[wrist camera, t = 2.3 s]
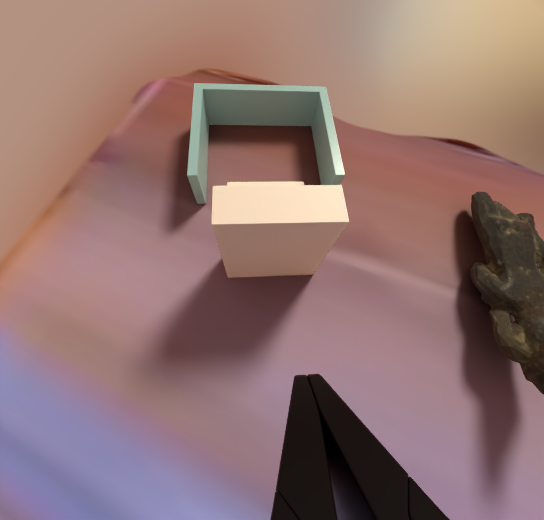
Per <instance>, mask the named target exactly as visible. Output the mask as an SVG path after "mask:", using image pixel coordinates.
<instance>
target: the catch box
mask: <svg viewBox="0 0 544 520" xmlns="http://www.w3.org/2000/svg"><path fill="white" fill-rule="evenodd" d="M209 125H258V126H311V128H312V134H313V140H314V146H315V152H316V158H317V164H318V170H319V176H320V182H321V185H340V184H341V182H342V180H343V178H344V175H345V173H344V168H343V164H342V159H341V154H340V149H339V145H338V140H337V135H336V131H335V126H334V121H333V117H332V112H331V107H330V103H329V98H328V93H327V89H326V87H319V86H281V85H242V84H204V83H194V96H193V108H192V120H191V133H190V145H189V158H188V170H187V177H188V179H189V182H190V185H191V188H192V191H193V193H194V196H195V199H196V202H197V204H206V188H207V165H208V142H209Z"/></svg>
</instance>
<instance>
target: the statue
mask: <svg viewBox="0 0 544 520" xmlns="http://www.w3.org/2000/svg"><path fill="white" fill-rule="evenodd" d="M471 211H472V217H473V222H474V225H475V229H476V231H477V234H478V237H479V240H480V242H481V244H482V246H483V249H484V253H485V259H486V261H487V263H488V265H485V264H483V263H481V262H475V263H474V265H473V266H472V268H471V269H470V273H471V279H472V282H473V284H474V285H475V286H476V287H477V289H478V290H479V291H480V292H481V293H482V298H481V299H482V300H483V301H484V302H485V303H486V304H487V305H490V306H491V308H492V309H491V310H490V316H491V320H492V332H493V335H494V338H495V341H496V344H497V347H498V348H499V350H500V351H501V353H502V354H503V355H504V356H505V357H507V358H509V359H511V360H513V361H515V362H518V363H520V365H521V368H522V371H523V374H524V375H525V378H526V380H528V381H530V382H532V383H533V384H534V385H535V386H536V387H537V388H538V390H539V391H540V392H541V393H542V394H544V241H543V240H542V239H541V238H540V236H539V235H538V233H537V231H536V230H535V223H534V217H533V216H532V214H528V213H520V214H517V215H515V214H513V213H512V212H511V211H510V210H509V209H507V208H506V207H504V206H503V205H502V204H499V202H498V203H497V202H496V201H492V199H491V197H490V196H489V195H488V193H486V192H477V193H475V194H474V195H472V202H471ZM536 264H537V265H536ZM539 269H540V270H539ZM510 314H512V315H513V316H514V318H515V321H514V322H510Z"/></svg>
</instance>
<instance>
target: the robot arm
mask: <svg viewBox="0 0 544 520" xmlns="http://www.w3.org/2000/svg"><path fill="white" fill-rule="evenodd" d="M271 520H449V519H448V518H447V517H446V516H445V514H444V513H443V512H442V511H441V510H440V509H439V508H438V507H437V506H436V505H435V504H434V502H433V501H432V500H431V499H430V498H429V497H428V496H427V495H426V494H425V493H424V492H423V490H422V489H421V488H420V487H419V486H418V485H417V484H416V482H415V481H414V480H413V479H412V478H411V477H408V474H407V472H406V471H405V470H404V469H403V468H402V467H401V466H400V464H399V463H398V462H397V461H396V460H395V459H394V458H393V457H392V455H391V454H390V453H389V452H388V451H387V450H386V449H385V447H384V446H383V445H382V444H381V443H380V442H379V441H378V440H377V438H376V437H375V436H374V435H373V434H372V433H371V432H370V431H369V429H368V428H367V427H366V426H365V425H364V424H363V423H362V421H361V420H360V419H359V418H358V417H357V416H356V415H355V414H354V412H353V411H352V410H351V409H350V408H349V407H348V406H347V404H346V403H345V402H344V401H343V400H342V399H341V398H340V397H339V395H338V394H337V393H336V392H335V391H334V390H333V389H332V387H331V386H330V385H329V384H328V383H327V382H326V381H325V380H324V378H323V377H322V376H321V375H320V374H309V375H307V376H306V375H296V376H295V377H294V381H293V388H292V394H291V400H290V406H289V412H288V418H287V424H286V430H285V437H284V443H283V449H282V455H281V461H280V467H279V473H278V479H277V486H276V492H275V497H274V503H273V509H272V515H271Z"/></svg>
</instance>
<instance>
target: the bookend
mask: <svg viewBox="0 0 544 520" xmlns="http://www.w3.org/2000/svg"><path fill="white" fill-rule="evenodd" d="M348 223H349V218H348V213H347V209H346V204H345V199H344V194H343V189H342V185H304V182H227V186H213V200H212V227H213V230H214V234H215V237H216V240H217V243H218V247H219V250H220V253H221V257H222V260H223V263H224V267H225V270H226V273H227V276H228V278H234V277H260V276H286V275H312V274H314V273H315V272H316V270H317V269H318V267H319V266H320V264H321V263H322V261H323V260H324V258H325V257H326V255H327V254H328V252H329V251H330V249H331V248H332V246H333V245H334V243H335V242H336V241H337V239H338V238H339V236H340V235H341V233H342V232H343V230H344V229H345V227H346V226H347V224H348Z"/></svg>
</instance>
